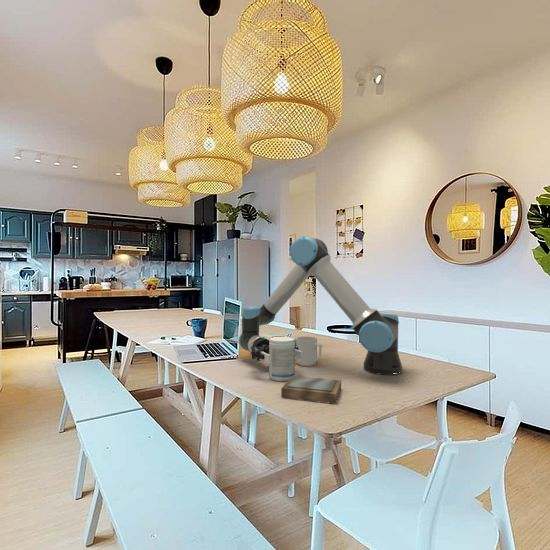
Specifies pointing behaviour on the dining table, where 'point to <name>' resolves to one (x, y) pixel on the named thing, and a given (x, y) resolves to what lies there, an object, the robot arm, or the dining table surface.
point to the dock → (311, 389)
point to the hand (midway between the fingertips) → (286, 357)
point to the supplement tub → (282, 358)
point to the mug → (308, 350)
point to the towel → (277, 335)
